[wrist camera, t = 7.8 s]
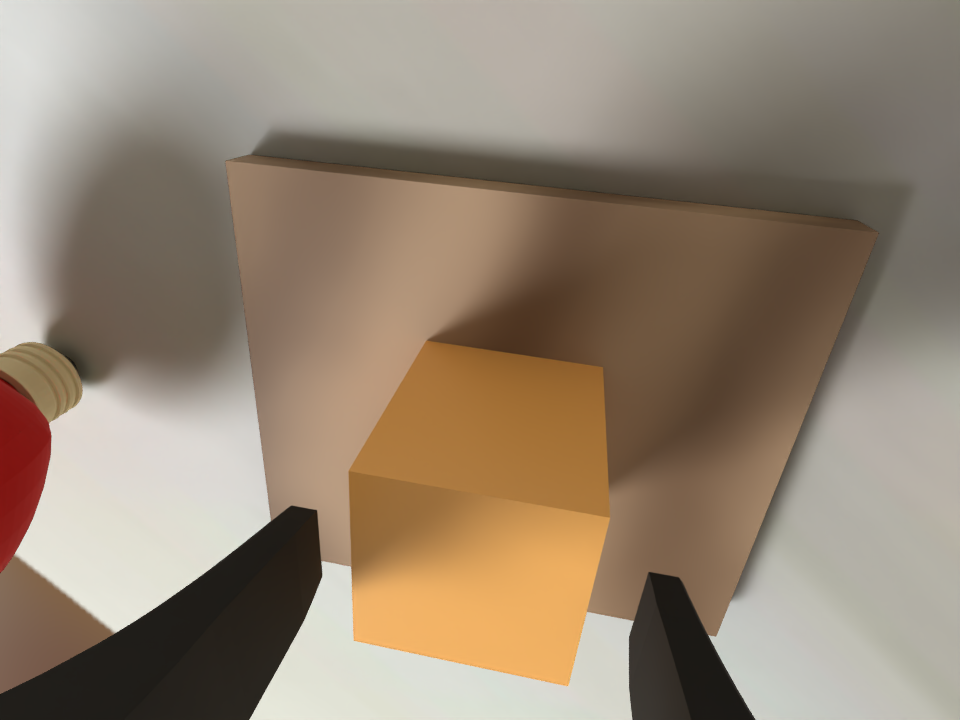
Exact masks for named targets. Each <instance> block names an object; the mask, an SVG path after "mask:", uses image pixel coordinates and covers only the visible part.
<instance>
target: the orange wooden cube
mask: <svg viewBox="0 0 960 720" xmlns="http://www.w3.org/2000/svg"><path fill="white" fill-rule="evenodd" d="M348 474H349V506H350V537H351V569H352V601H353V633H354V641H358V642H362V643H367V644H372V645H377V646H381V647H386V648H391V649H395V650H400V651H405V652H409V653H414V654H419V655H424V656H428V657H433V658H438V659H442V660H447V661H452V662H456V663H461V664H466V665H470V666H475V667H480V668H485V669H489V670H494V671H499V672H503V673H508V674H513V675H517V676H522V677H527V678H532V679H536V680H541V681H546V682H550V683H555V684H560V685H564V686H568V685H569V681H570V677H571V673H572V669H573V665H574V661H575V657H576V653H577V649H578V645H579V641H580V637H581V633H582V629H583V625H584V621H585V617H586V613H587V609H588V605H589V601H590V597H591V593H592V589H593V585H594V581H595V577H596V573H597V569H598V565H599V561H600V557H601V553H602V549H603V545H604V541H605V537H606V533H607V529H608V525H609V521H610V504H609V483H608V462H607V440H606V419H605V398H604V377H603V367H599V366H592V365H585V364H579V363H572V362H565V361H559V360H552V359H546V358H539V357H532V356H526V355H519V354H512V353H506V352H499V351H492V350H486V349H479V348H472V347H466V346H459V345H452V344H446V343H439V342H432V341H426V342H425V343H424V345H423V347H422V348H421V350H420V352H419V353H418V355H417V357H416V359H415V360H414V362H413V364H412V365H411V367H410V369H409V370H408V372H407V374H406V375H405V377H404V379H403V380H402V382H401V384H400V385H399V387H398V389H397V390H396V392H395V394H394V395H393V397H392V399H391V400H390V402H389V404H388V405H387V407H386V409H385V411H384V412H383V414H382V416H381V417H380V419H379V421H378V422H377V424H376V426H375V427H374V429H373V431H372V432H371V434H370V436H369V437H368V439H367V441H366V442H365V444H364V446H363V447H362V449H361V451H360V452H359V454H358V456H357V457H356V459H355V461H354V462H353V464H352V466H351V468H350V469H349V471H348Z"/></svg>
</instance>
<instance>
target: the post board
mask: <svg viewBox="0 0 960 720" xmlns="http://www.w3.org/2000/svg"><path fill="white" fill-rule="evenodd" d="M225 162H226V170H227V178H228V186H229V194H230V201H231V209H232V217H233V225H234V233H235V241H236V249H237V256H238V264H239V272H240V280H241V288H242V296H243V304H244V312H245V319H246V327H247V335H248V343H249V351H250V359H251V367H252V374H253V382H254V390H255V398H256V406H257V414H258V422H259V430H260V437H261V445H262V453H263V461H264V469H265V477H266V485H267V492H268V500H269V508H270V516H271V521H272V520H273V519H274V518H276V517H277V516H278V515H279V514H281V513H282V512H283V511H284V510H286V509H287V508H288V507H290V506H291V505H292V506H298V507H303V508H309V509H314V510H317V513H318V526H319V539H320V552H321V561H325V562H331V563H336V564H341V565H346V566H351V537H350V506H349V474H348V471H349V469H350V468H351V466H352V464H353V462H354V461H355V459H356V457H357V456H358V454H359V452H360V451H361V449H362V447H363V446H364V444H365V442H366V441H367V439H368V437H369V436H370V434H371V432H372V431H373V429H374V427H375V426H376V424H377V422H378V421H379V419H380V417H381V416H382V414H383V412H384V411H385V409H386V407H387V405H388V404H389V402H390V400H391V399H392V397H393V395H394V394H395V392H396V390H397V389H398V387H399V385H400V384H401V382H402V380H403V379H404V377H405V375H406V374H407V372H408V370H409V369H410V367H411V365H412V364H413V362H414V360H415V359H416V357H417V355H418V353H419V352H420V350H421V348H422V347H423V345H424V343H425V342H426V341H432V342H439V343H446V344H452V345H459V346H466V347H472V348H479V349H486V350H492V351H499V352H506V353H512V354H519V355H526V356H532V357H539V358H546V359H552V360H559V361H565V362H572V363H579V364H585V365H592V366H599V367H603V377H604V398H605V419H606V440H607V462H608V483H609V504H610V521H609V525H608V529H607V533H606V537H605V541H604V545H603V549H602V553H601V557H600V561H599V565H598V569H597V573H596V577H595V581H594V585H593V589H592V593H591V597H590V601H589V605H588V609H587V612H591V613H596V614H601V615H607V616H612V617H617V618H622V619H628V620H633V621H634V619H635V616H636V612H637V609H638V606H639V602H640V599H641V596H642V592H643V589H644V586H645V582H646V579H647V575H648V572H653V573H659V574H664V575H670V576H675V577H679V578H680V579H681V581H682V582H683V584H684V586H685V588H686V590H687V593H688V595H689V597H690V599H691V601H692V603H693V606H694V608H695V610H696V612H697V614H698V616H699V618H700V620H701V622H702V624H703V626H704V628H705V630H706V632H707V634H708V635H711V636H716V635H717V633H718V631H719V628H720V626H721V623H722V621H723V618H724V616H725V613H726V611H727V608H728V606H729V603H730V601H731V598H732V596H733V593H734V591H735V588H736V586H737V583H738V581H739V578H740V576H741V574H742V571H743V569H744V566H745V564H746V561H747V559H748V556H749V554H750V551H751V549H752V546H753V544H754V541H755V539H756V536H757V534H758V531H759V529H760V526H761V524H762V521H763V519H764V517H765V514H766V512H767V509H768V507H769V504H770V502H771V499H772V497H773V494H774V492H775V489H776V487H777V484H778V482H779V479H780V477H781V474H782V472H783V469H784V467H785V464H786V462H787V460H788V457H789V455H790V452H791V450H792V447H793V445H794V442H795V440H796V437H797V435H798V432H799V430H800V427H801V425H802V422H803V420H804V417H805V415H806V412H807V410H808V407H809V405H810V403H811V400H812V398H813V395H814V393H815V390H816V388H817V385H818V383H819V380H820V378H821V375H822V373H823V370H824V368H825V365H826V363H827V360H828V358H829V355H830V353H831V350H832V348H833V346H834V343H835V341H836V338H837V336H838V333H839V331H840V328H841V326H842V323H843V321H844V318H845V316H846V313H847V311H848V308H849V306H850V303H851V301H852V298H853V296H854V293H855V291H856V289H857V286H858V284H859V281H860V279H861V276H862V274H863V271H864V269H865V266H866V264H867V261H868V259H869V256H870V254H871V251H872V249H873V246H874V244H875V241H876V239H877V236H878V234H879V233H878V232H877V231H875V230H873V229H871V228H870V227H868V226H866V225H864V224H863V223H861V222H859V221H857V220H848V219H839V218H830V217H820V216H811V215H802V214H793V213H784V212H774V211H765V210H756V209H747V208H737V207H728V206H719V205H710V204H700V203H691V202H682V201H673V200H664V199H654V198H645V197H636V196H627V195H617V194H608V193H599V192H590V191H581V190H571V189H562V188H553V187H544V186H534V185H525V184H516V183H507V182H497V181H488V180H479V179H470V178H461V177H451V176H442V175H433V174H424V173H414V172H405V171H396V170H387V169H377V168H368V167H359V166H350V165H341V164H331V163H322V162H313V161H304V160H294V159H285V158H276V157H267V156H257V155H246V156H242V157H238V158H234V159H230V160H226V161H225Z"/></svg>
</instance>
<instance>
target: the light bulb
mask: <svg viewBox="0 0 960 720" xmlns="http://www.w3.org/2000/svg"><path fill="white" fill-rule="evenodd" d="M82 391H83V390H82V383H81V380H80V377H79V375H78V373H77V368H76V365H75V364H74V362H73V361H72V360H71V359H70V358H68V357H67V356H64V355H62V354H60V353H59V352H58V351H56V350H54V349H53V348H51V347H49V346H47V345H44V344H41V343H36V342H28V343H22V344H19V345H17V346H16V347H14V348H11V349H9V350H7V351H6V352H4V353H1V354H0V573H1V572H2V571H3V570H4V568H5V567H6V565H7V564H8V563H9V561H10V560H11V559H12V557H13V555H14V554H15V552H16V550H17V549H18V547H19V545H20V543H21V541H22V539H23V537H24V536H25V534H26V532H27V530H28V528H29V526H30V524H31V522H32V519H33V517H34V514H35V511H36V508H37V505H38V503H39V500H40V497H41V494H42V491H43V488H44V484H45V479H46V475H47V470H48V465H49V460H50V455H51V431H50V428H49V423H50V422H51V421H53V420H55V419H57V418H58V417H59V416H60V415H62V414H64V413H66V412H67V411H68V410H69V409H71V408H73V407H75V406H76V405H77V404H78V402H79V401H80V399H81V397H82Z"/></svg>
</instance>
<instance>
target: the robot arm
mask: <svg viewBox="0 0 960 720" xmlns="http://www.w3.org/2000/svg"><path fill="white" fill-rule="evenodd" d="M321 578H322V565H321V552H320V539H319V526H318V513H317V510H314V509H309V508H303V507H298V506H292V505H291V506H290V507H288V508H287V509H286V510H284V511H283V512H282V513H281V514H279V515H278V516H277V517H276V518H274V519H273V520H272V521H271V522H269V523H268V524H267V525H266V526H264V527H263V528H262V529H261V530H260V531H258V532H257V533H256V534H255V535H253V536H252V537H251V538H250V539H248V540H247V541H246V542H245V543H243V544H242V545H241V546H240V547H238V548H237V549H236V550H235V551H233V552H232V553H231V554H229V555H228V556H227V557H225V558H224V559H223V560H221V561H220V562H219V563H218V564H216V565H215V566H214V567H212V568H211V569H210V570H208V571H207V572H206V573H204V574H203V575H202V576H200V577H199V578H198V579H196V580H195V581H193V582H192V583H191V584H189V585H188V586H186V587H185V588H184V589H182V590H181V591H179V592H178V593H176V594H175V595H174V596H172V597H171V598H169V599H168V600H167V601H165V602H164V603H162V604H161V605H159V606H158V607H156V608H155V609H153V610H152V611H150V612H149V613H147V614H146V615H144V616H143V617H141V618H139V619H138V620H136V621H135V622H133V623H131V624H130V625H128V626H127V627H125V628H123V629H122V630H120V631H118V632H117V633H115V634H114V635H112V636H110V637H108V638H107V639H105V640H103V641H102V642H100V643H98V644H97V645H95V646H93V647H91V648H89V649H87V650H85V651H83V652H82V653H80V654H78V655H76V656H74V657H73V658H71V659H69V660H67V661H65V662H63V663H61V664H60V665H58V666H56V667H54V668H52V669H50V670H48V671H47V672H45V673H43V674H41V675H39V676H37V677H35V678H33V679H31V680H29V681H26V682H25V683H22V684H20V685H18V686H16V687H14V688H12V689H10V690H8V691H6V692H4V693H2V694H0V720H249V719H250V717H251V716H252V714H253V712H254V710H255V708H256V707H257V705H258V703H259V701H260V699H261V698H262V696H263V694H264V692H265V690H266V689H267V687H268V685H269V683H270V681H271V680H272V678H273V676H274V674H275V672H276V671H277V669H278V667H279V665H280V663H281V662H282V660H283V658H284V656H285V654H286V653H287V651H288V649H289V647H290V645H291V644H292V642H293V640H294V638H295V636H296V634H297V633H298V631H299V629H300V627H301V625H302V623H303V621H304V619H305V617H306V615H307V612H308V610H309V608H310V605H311V603H312V601H313V598H314V596H315V593H316V591H317V588H318V586H319V583H320V581H321ZM629 691H630V701H631V710H632V719H633V720H755V718H754V716H753V715H752V713H751V712H750V710H749V708H748V707H747V705H746V703H745V702H744V700H743V698H742V696H741V695H740V693H739V691H738V690H737V688H736V686H735V684H734V682H733V681H732V679H731V677H730V675H729V673H728V672H727V670H726V668H725V666H724V664H723V663H722V661H721V659H720V657H719V655H718V653H717V652H716V650H715V648H714V646H713V644H712V642H711V640H710V638H709V636H708V634H707V632H706V630H705V628H704V626H703V624H702V622H701V620H700V618H699V616H698V614H697V612H696V610H695V608H694V606H693V603H692V601H691V599H690V597H689V595H688V593H687V590H686V588H685V586H684V584H683V582H682V581H681V579H680V578H679V577H675V576H670V575H664V574H659V573H653V572H648V575H647V579H646V582H645V586H644V589H643V592H642V596H641V599H640V602H639V606H638V609H637V612H636V616H635V619H634V623H633V626H632V629H631V633H630V636H629Z"/></svg>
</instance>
